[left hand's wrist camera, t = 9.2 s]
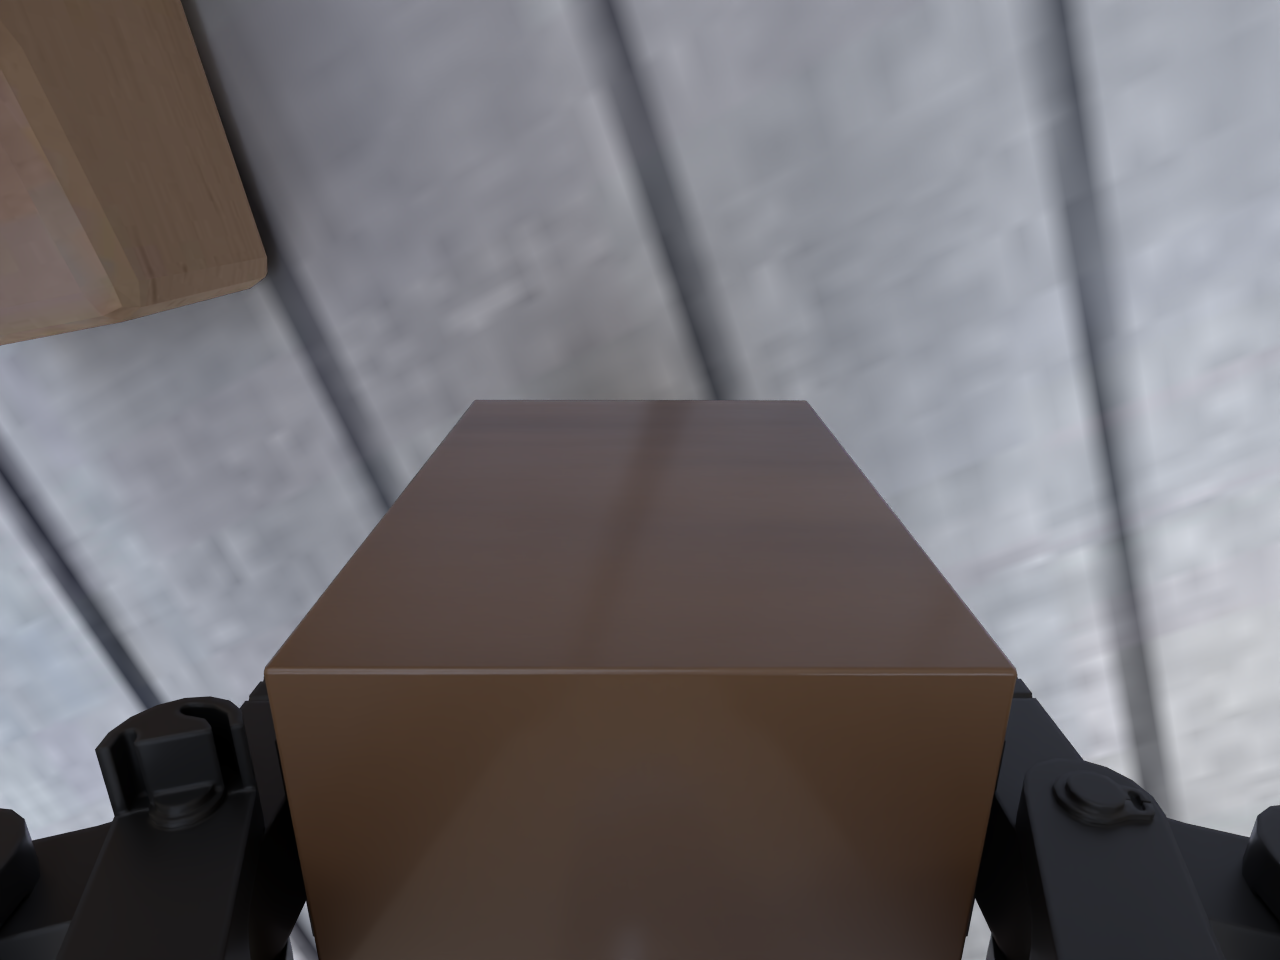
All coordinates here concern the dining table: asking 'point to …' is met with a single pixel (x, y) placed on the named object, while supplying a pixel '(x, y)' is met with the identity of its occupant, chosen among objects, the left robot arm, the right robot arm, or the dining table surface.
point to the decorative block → (112, 169)
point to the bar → (640, 702)
